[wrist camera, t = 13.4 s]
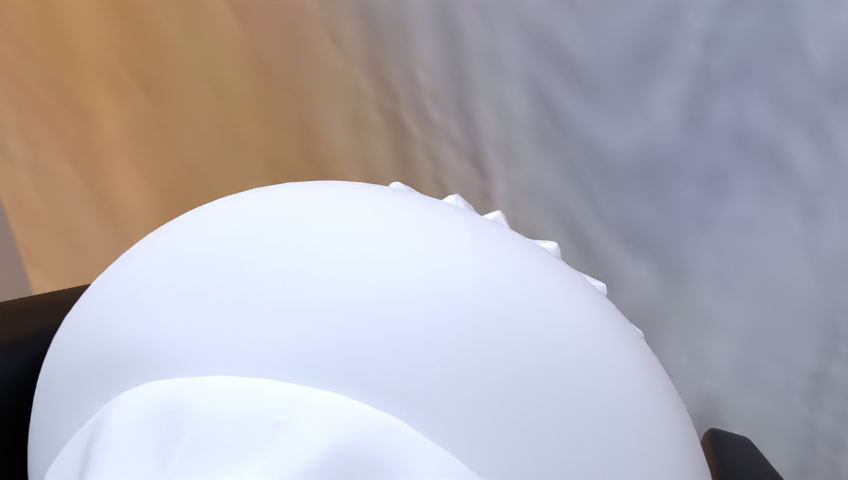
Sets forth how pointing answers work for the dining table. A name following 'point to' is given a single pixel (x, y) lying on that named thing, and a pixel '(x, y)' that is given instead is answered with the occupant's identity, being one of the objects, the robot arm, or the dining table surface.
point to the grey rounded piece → (352, 353)
